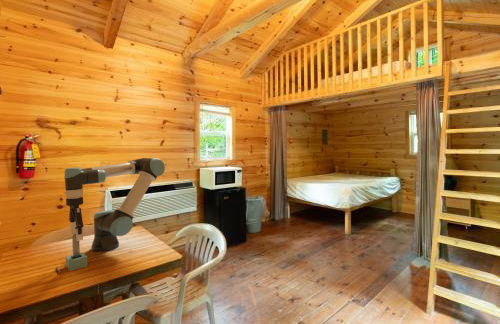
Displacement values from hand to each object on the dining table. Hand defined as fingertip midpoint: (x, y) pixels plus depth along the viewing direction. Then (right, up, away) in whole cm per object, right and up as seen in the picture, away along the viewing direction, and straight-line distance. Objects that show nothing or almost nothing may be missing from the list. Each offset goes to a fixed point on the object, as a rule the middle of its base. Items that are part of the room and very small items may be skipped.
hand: (76, 237), depth 138 cm
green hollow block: (0, -15, 0) cm, 15 cm away
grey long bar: (0, -15, 0) cm, 15 cm away
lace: (-6, -16, -5) cm, 18 cm away
